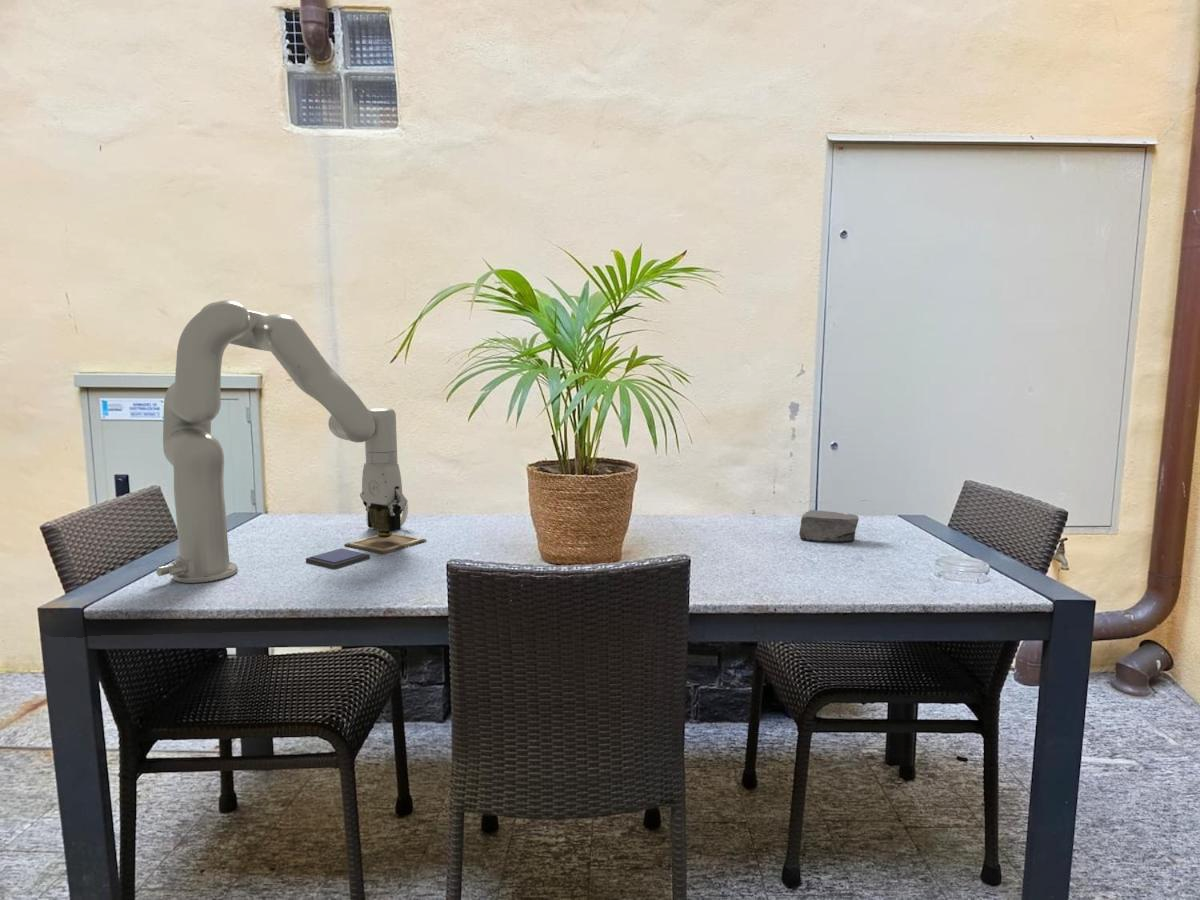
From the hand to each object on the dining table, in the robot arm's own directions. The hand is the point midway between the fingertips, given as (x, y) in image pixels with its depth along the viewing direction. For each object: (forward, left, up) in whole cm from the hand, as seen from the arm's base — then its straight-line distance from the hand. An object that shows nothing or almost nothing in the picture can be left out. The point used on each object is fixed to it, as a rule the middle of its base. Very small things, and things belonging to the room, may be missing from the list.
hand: (384, 528), depth 193 cm
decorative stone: (+64, -92, -4) cm, 112 cm away
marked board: (0, 0, -4) cm, 4 cm away
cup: (0, 0, -2) cm, 2 cm away
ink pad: (-16, -2, -4) cm, 16 cm away
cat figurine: (+11, +12, -4) cm, 17 cm away
